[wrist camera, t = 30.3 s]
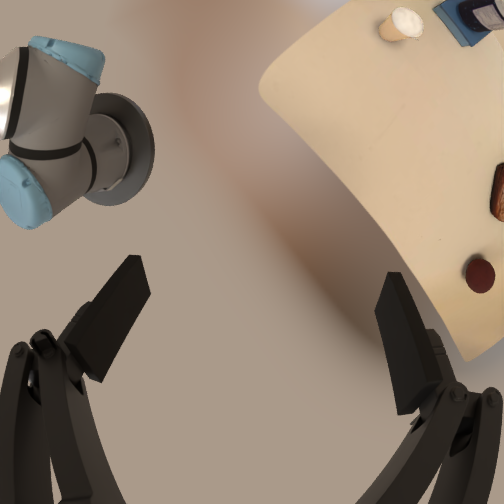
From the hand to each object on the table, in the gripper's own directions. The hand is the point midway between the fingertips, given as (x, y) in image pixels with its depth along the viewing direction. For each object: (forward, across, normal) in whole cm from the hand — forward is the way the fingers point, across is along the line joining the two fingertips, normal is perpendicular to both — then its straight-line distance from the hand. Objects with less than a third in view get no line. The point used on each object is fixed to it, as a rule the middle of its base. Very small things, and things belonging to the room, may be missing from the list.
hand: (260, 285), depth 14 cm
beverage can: (+27, +30, +30) cm, 51 cm away
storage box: (+31, +30, +30) cm, 53 cm away
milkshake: (+31, +16, +22) cm, 41 cm away
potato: (+24, +43, -20) cm, 53 cm away
